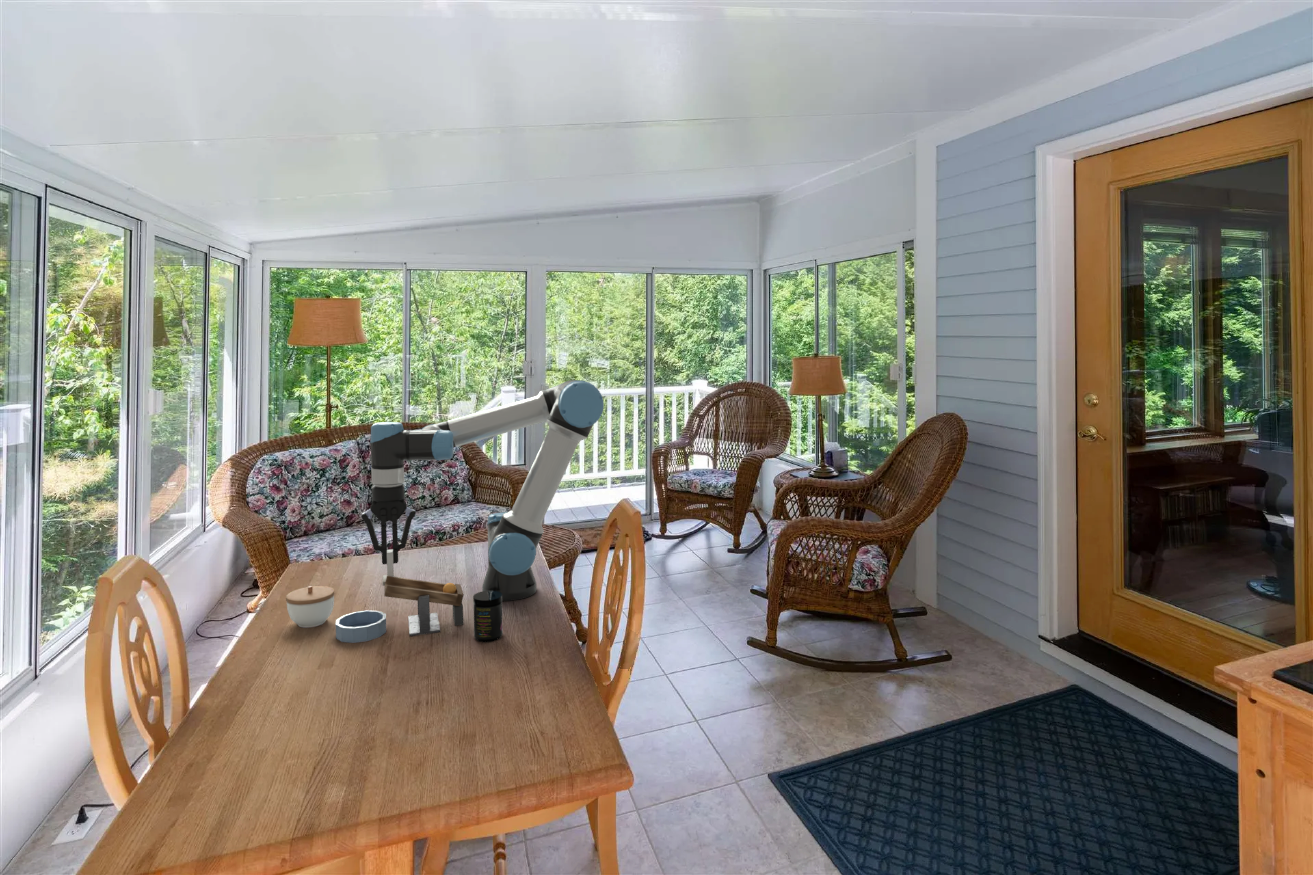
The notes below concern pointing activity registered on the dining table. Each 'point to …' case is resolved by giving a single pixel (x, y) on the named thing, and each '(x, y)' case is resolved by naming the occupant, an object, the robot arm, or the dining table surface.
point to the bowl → (360, 626)
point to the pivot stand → (423, 619)
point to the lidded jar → (310, 605)
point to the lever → (420, 590)
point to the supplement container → (488, 616)
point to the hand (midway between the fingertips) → (390, 575)
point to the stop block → (458, 614)
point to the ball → (449, 588)
